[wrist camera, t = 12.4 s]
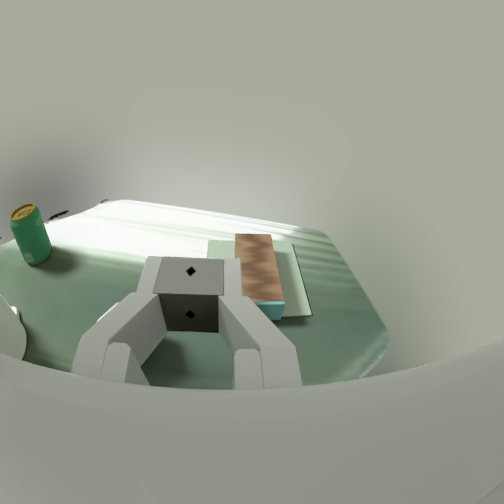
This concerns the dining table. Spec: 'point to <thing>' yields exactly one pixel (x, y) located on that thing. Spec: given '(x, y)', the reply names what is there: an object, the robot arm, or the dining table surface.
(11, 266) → the dining table surface
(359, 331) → the dining table surface
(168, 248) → the dining table surface
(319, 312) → the dining table surface
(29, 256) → the beverage can
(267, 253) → the walnut block
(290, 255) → the green mat
